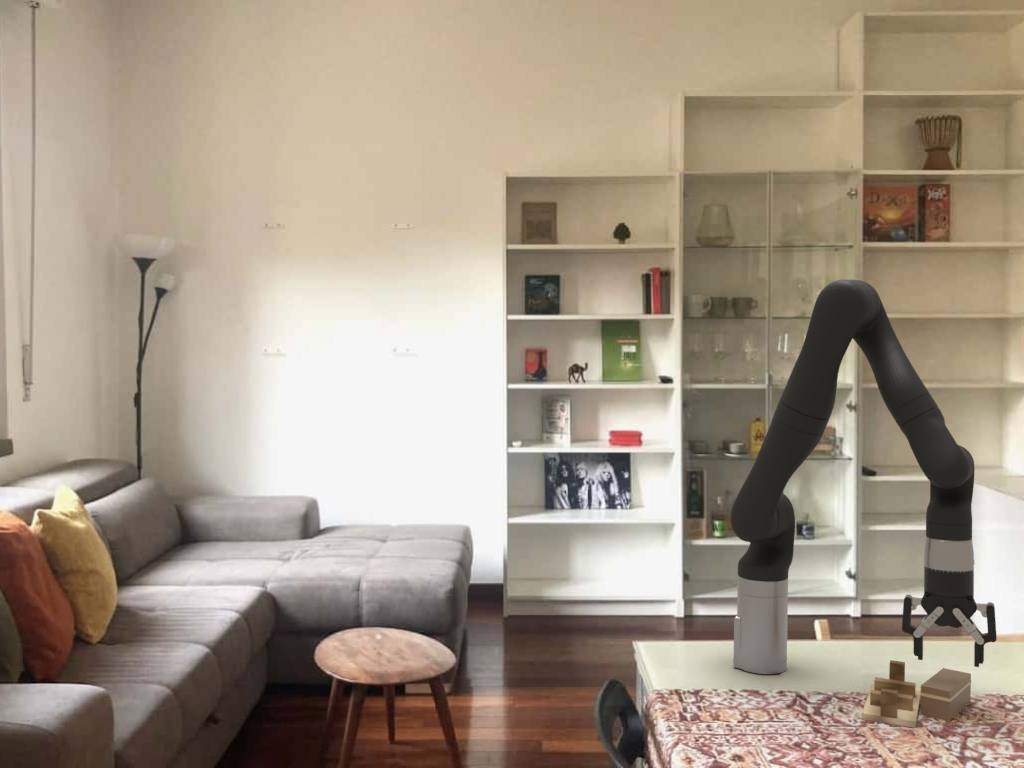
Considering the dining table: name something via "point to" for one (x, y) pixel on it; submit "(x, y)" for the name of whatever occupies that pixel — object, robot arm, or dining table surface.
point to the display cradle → (893, 699)
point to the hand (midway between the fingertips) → (948, 662)
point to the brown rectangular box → (945, 694)
